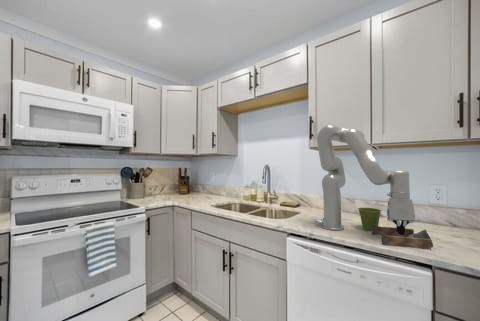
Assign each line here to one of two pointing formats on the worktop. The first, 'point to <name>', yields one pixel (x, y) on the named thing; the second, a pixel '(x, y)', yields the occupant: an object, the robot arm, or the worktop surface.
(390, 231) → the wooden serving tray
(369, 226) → the plant pot
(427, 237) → the grey irregular lump
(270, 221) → the worktop surface
